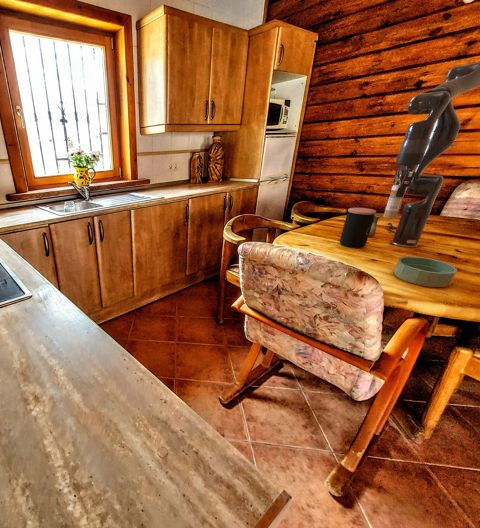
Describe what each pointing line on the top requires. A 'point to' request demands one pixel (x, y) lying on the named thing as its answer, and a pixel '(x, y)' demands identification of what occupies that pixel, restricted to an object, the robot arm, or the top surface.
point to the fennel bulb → (373, 226)
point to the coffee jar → (357, 227)
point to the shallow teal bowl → (425, 271)
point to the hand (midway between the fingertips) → (396, 195)
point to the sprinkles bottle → (393, 204)
